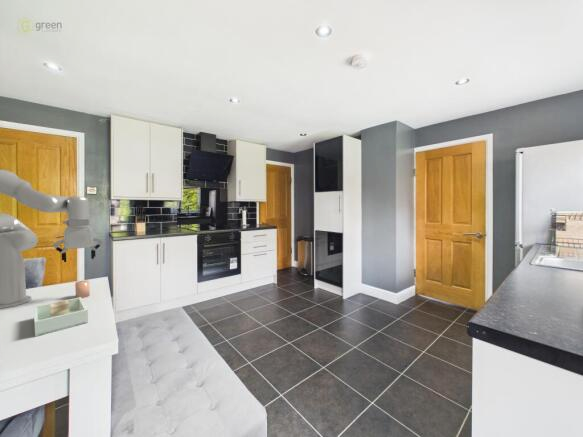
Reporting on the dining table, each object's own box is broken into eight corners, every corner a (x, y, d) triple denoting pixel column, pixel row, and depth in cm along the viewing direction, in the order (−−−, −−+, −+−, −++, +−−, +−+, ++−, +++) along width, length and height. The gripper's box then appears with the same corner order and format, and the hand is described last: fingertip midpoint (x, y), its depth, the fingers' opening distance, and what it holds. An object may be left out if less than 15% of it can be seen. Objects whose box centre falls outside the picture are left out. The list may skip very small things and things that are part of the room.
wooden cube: (51, 320, 91) (50, 307, 91) (50, 316, 94) (50, 303, 94) (69, 316, 95) (68, 303, 94) (68, 312, 98) (67, 299, 98)
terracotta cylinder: (72, 297, 114) (72, 283, 114) (84, 294, 119) (83, 280, 119) (81, 298, 113) (80, 284, 113) (92, 295, 118) (91, 280, 118)
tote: (34, 319, 93) (34, 306, 93) (81, 308, 103) (80, 297, 102) (35, 336, 81) (34, 322, 81) (87, 322, 91) (87, 309, 91)
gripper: (52, 224, 103) (53, 264, 104) (103, 223, 116) (103, 258, 116) (52, 223, 109) (53, 261, 110) (100, 222, 121) (101, 256, 122)
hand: (79, 260), depth 113 cm, fingers open, 9 cm apart
